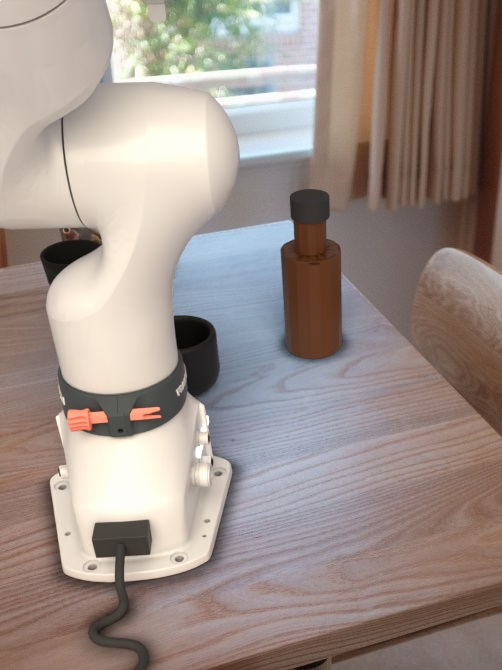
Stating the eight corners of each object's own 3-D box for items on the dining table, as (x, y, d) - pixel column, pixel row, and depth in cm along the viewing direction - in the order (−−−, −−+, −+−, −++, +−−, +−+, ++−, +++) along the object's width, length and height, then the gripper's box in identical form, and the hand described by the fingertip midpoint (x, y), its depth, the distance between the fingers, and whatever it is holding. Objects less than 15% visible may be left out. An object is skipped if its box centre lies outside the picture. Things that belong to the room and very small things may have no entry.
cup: (128, 342, 118) (113, 254, 111) (73, 359, 115) (53, 270, 107) (105, 319, 123) (88, 234, 116) (51, 335, 120) (30, 248, 112)
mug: (202, 358, 115) (195, 307, 110) (234, 390, 109) (229, 337, 104) (112, 386, 110) (101, 333, 106) (141, 421, 104) (131, 367, 100)
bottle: (345, 356, 115) (344, 226, 104) (288, 360, 114) (281, 230, 103) (337, 329, 120) (336, 203, 110) (283, 333, 120) (276, 206, 109)
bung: (332, 237, 106) (331, 202, 104) (293, 240, 106) (291, 204, 103) (327, 222, 110) (326, 187, 107) (289, 224, 109) (288, 190, 107)
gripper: (114, -151, 99) (134, -7, 107) (101, -133, 83) (125, 34, 92) (172, -152, 99) (187, -9, 108) (170, -135, 84) (188, 31, 92)
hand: (159, 11), depth 100 cm, fingers open, 8 cm apart
